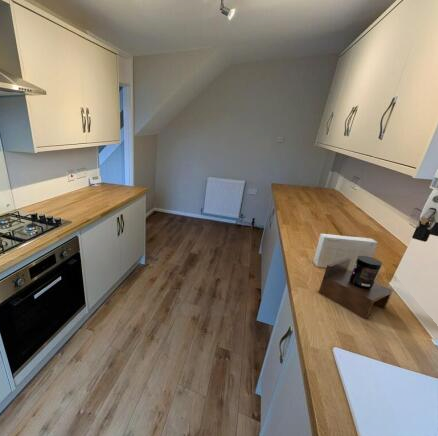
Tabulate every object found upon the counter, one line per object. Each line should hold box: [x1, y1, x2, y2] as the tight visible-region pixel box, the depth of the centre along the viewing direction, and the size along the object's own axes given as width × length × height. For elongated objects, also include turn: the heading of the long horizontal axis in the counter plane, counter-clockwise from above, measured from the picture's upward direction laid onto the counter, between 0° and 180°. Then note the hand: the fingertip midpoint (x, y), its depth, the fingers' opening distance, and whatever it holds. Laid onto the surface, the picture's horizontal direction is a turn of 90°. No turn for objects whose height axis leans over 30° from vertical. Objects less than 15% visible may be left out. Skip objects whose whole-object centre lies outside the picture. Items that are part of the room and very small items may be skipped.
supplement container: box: [350, 256, 383, 289], centre depth 87 cm, size 7×7×10 cm
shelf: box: [318, 258, 394, 320], centre depth 91 cm, size 16×14×13 cm
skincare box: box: [312, 233, 379, 272], centre depth 112 cm, size 21×6×16 cm, turn 74°
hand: (425, 237), depth 76 cm, fingers open, 9 cm apart
